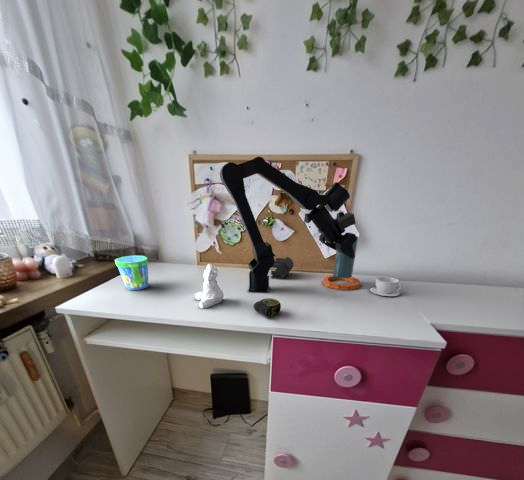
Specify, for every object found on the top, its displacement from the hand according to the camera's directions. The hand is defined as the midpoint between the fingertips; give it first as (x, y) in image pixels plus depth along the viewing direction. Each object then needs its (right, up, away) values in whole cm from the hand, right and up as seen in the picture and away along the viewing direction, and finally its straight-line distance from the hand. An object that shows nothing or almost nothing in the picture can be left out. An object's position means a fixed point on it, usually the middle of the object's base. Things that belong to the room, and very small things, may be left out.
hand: (349, 255), depth 100 cm
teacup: (+12, -14, -3) cm, 19 cm away
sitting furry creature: (-48, -19, -12) cm, 53 cm away
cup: (-2, -7, +3) cm, 8 cm away
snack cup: (-77, -12, 0) cm, 78 cm away
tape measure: (-30, -24, -20) cm, 44 cm away
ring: (-1, -9, +5) cm, 11 cm away
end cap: (-23, -4, +14) cm, 28 cm away
